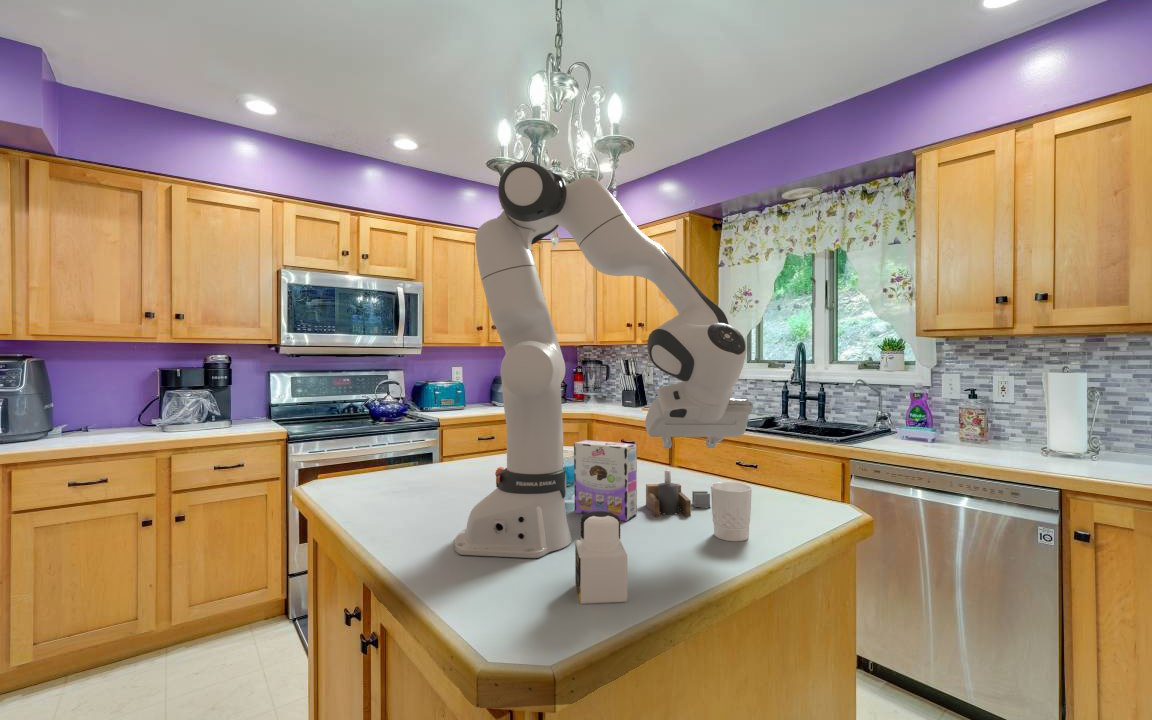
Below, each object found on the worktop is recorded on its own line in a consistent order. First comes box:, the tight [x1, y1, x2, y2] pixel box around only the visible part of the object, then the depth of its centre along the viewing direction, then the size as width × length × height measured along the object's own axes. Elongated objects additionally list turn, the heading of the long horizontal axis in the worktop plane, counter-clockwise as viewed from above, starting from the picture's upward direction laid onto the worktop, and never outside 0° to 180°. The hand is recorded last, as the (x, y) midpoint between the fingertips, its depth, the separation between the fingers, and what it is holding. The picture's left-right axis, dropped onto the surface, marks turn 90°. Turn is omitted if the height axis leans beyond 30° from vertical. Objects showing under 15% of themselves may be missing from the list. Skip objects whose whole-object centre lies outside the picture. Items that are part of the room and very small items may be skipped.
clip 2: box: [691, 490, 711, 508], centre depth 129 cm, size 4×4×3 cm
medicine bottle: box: [574, 511, 628, 605], centre depth 81 cm, size 7×7×12 cm
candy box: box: [573, 439, 638, 522], centre depth 123 cm, size 14×6×16 cm, turn 58°
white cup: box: [710, 481, 753, 542], centre depth 107 cm, size 8×8×10 cm
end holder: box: [645, 483, 692, 518], centre depth 126 cm, size 8×10×5 cm
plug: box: [657, 469, 679, 515], centre depth 125 cm, size 5×5×9 cm
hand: (688, 445), depth 112 cm, fingers open, 8 cm apart
